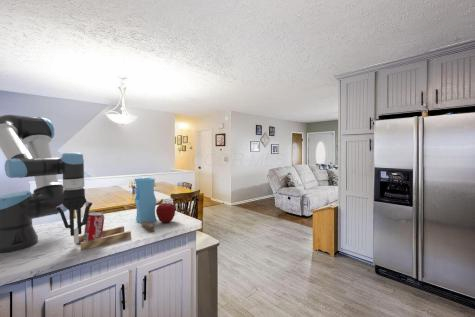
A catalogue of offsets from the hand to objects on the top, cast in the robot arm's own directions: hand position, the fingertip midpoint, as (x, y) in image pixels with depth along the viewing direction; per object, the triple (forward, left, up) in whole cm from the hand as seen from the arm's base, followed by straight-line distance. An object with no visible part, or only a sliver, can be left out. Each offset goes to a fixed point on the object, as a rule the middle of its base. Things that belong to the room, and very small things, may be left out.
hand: (76, 242), depth 98 cm
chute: (+8, +7, -2) cm, 11 cm away
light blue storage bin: (+19, +36, -3) cm, 41 cm away
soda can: (+4, +4, -2) cm, 6 cm away
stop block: (+25, +19, -2) cm, 32 cm away
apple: (+32, +30, -3) cm, 44 cm away
